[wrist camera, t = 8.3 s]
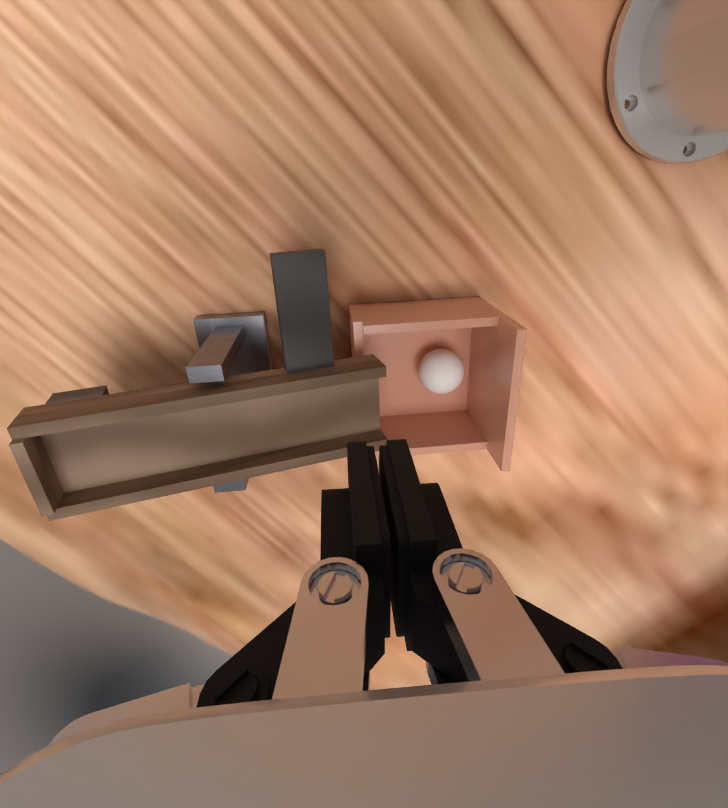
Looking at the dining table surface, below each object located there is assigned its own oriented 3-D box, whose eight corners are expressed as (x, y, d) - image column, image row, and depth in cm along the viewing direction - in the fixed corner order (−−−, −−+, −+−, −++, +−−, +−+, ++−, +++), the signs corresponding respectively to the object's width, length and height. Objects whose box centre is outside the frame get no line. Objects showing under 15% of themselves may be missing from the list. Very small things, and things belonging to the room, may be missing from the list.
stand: (197, 315, 33) (155, 359, 25) (264, 311, 34) (245, 353, 25) (222, 431, 38) (193, 502, 29) (281, 426, 38) (269, 495, 30)
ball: (410, 347, 35) (435, 361, 32) (447, 340, 36) (474, 352, 33) (409, 388, 36) (434, 405, 33) (445, 379, 37) (471, 395, 35)
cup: (348, 304, 34) (357, 340, 26) (478, 296, 35) (527, 329, 27) (355, 421, 38) (364, 483, 30) (470, 412, 39) (509, 470, 31)
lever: (-7, 269, 24) (-64, 290, 19) (354, 240, 29) (386, 250, 24) (73, 469, 30) (46, 526, 25) (363, 413, 35) (390, 451, 30)
